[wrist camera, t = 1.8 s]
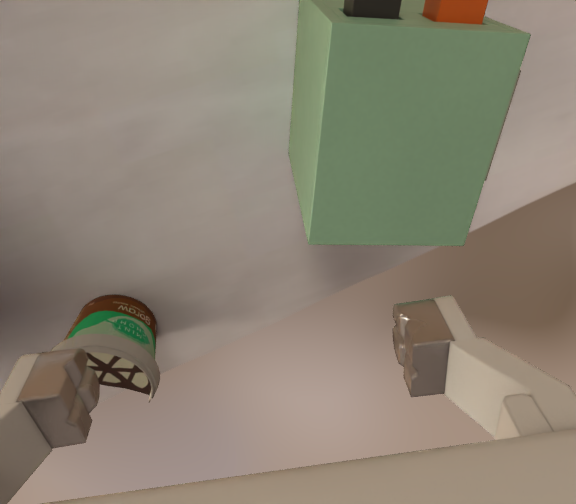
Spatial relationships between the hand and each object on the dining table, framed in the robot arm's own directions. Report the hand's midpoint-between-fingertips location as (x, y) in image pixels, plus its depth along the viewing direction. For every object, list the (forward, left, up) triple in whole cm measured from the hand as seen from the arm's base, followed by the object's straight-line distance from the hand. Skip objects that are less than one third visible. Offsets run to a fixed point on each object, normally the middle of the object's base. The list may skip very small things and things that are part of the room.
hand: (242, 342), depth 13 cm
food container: (+20, -27, -38) cm, 50 cm away
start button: (+2, +15, -26) cm, 30 cm away
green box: (+8, +8, -37) cm, 39 cm away
